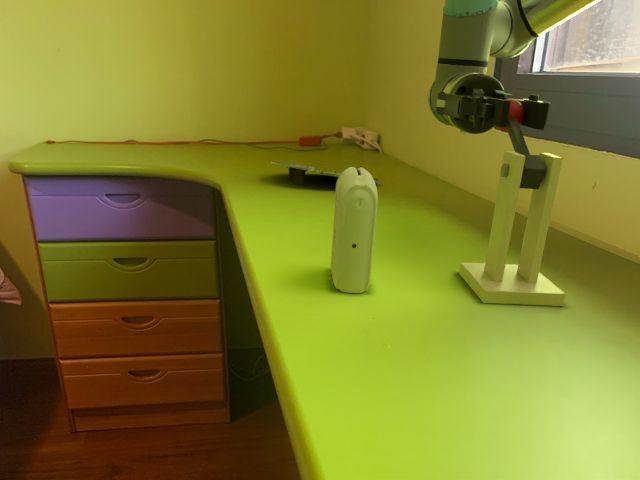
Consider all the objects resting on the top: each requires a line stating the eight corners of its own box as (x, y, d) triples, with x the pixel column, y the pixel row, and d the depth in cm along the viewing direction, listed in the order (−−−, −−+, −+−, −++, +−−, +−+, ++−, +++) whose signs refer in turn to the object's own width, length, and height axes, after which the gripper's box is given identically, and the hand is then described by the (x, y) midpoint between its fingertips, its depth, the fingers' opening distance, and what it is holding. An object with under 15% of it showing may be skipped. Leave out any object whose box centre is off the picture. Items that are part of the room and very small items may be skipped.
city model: (404, 196, 146) (409, 166, 143) (333, 192, 128) (338, 157, 126) (316, 181, 160) (320, 153, 158) (242, 175, 143) (245, 144, 141)
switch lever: (487, 121, 85) (495, 92, 82) (515, 123, 85) (524, 94, 82) (511, 193, 75) (521, 162, 72) (543, 194, 75) (554, 164, 73)
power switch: (458, 273, 86) (477, 145, 79) (528, 276, 86) (554, 149, 79) (483, 303, 75) (508, 159, 68) (563, 306, 76) (596, 163, 69)
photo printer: (372, 294, 76) (383, 176, 70) (333, 293, 75) (341, 174, 69) (363, 269, 85) (372, 162, 79) (328, 268, 84) (335, 160, 79)
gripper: (524, 135, 100) (588, 155, 79) (411, 128, 99) (445, 147, 78) (535, 77, 96) (604, 82, 76) (418, 69, 95) (455, 72, 75)
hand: (524, 115), depth 77 cm, fingers closed on switch lever, 4 cm apart
